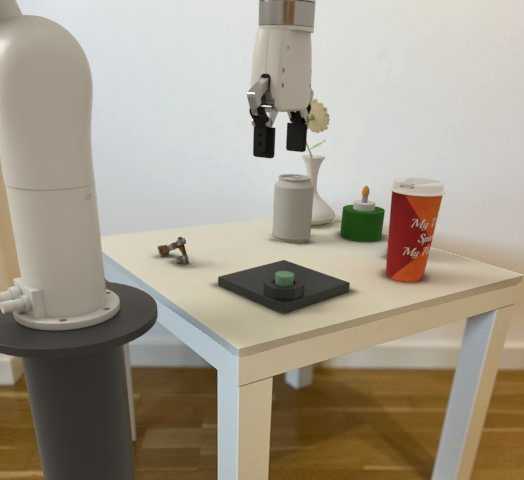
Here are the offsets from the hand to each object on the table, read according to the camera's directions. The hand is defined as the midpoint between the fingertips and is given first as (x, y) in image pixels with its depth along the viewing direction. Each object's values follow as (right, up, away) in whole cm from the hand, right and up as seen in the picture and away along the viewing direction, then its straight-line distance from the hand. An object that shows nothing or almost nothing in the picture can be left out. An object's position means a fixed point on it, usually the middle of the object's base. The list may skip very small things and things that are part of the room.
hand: (280, 154), depth 81 cm
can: (+3, -7, +27) cm, 28 cm away
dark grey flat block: (0, -20, +1) cm, 20 cm away
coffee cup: (+21, -17, +9) cm, 28 cm away
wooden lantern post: (-17, -14, +12) cm, 25 cm away
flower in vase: (+7, -1, +40) cm, 41 cm away
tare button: (0, -20, -5) cm, 20 cm away
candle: (+17, -6, +30) cm, 35 cm away
